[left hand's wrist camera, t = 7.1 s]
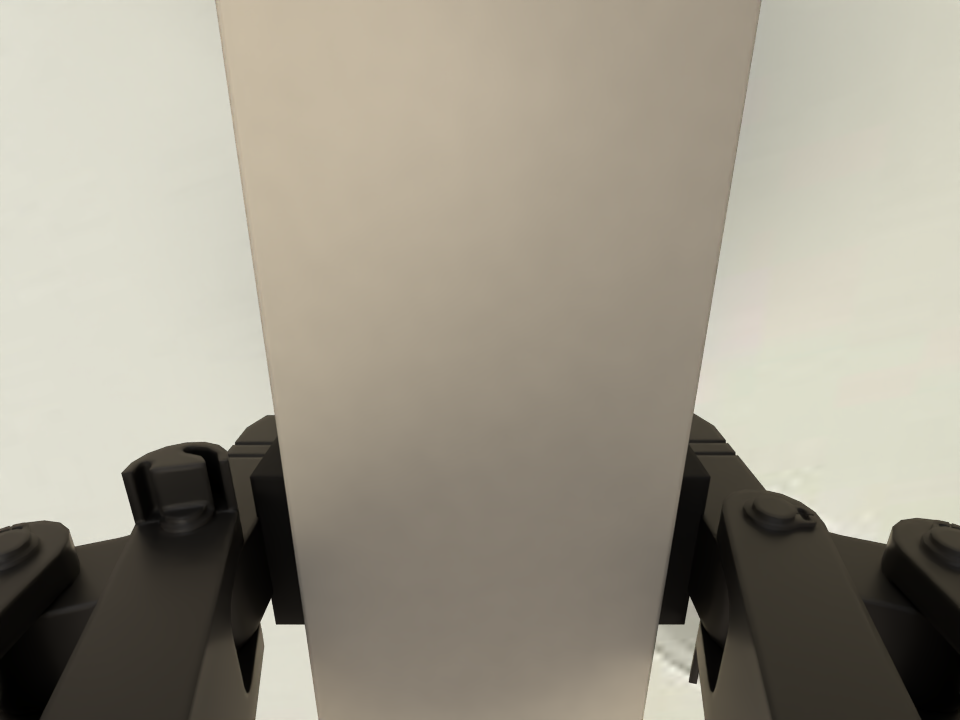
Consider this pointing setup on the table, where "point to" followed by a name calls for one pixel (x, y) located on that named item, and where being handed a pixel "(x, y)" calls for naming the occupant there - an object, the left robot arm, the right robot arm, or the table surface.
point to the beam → (484, 329)
